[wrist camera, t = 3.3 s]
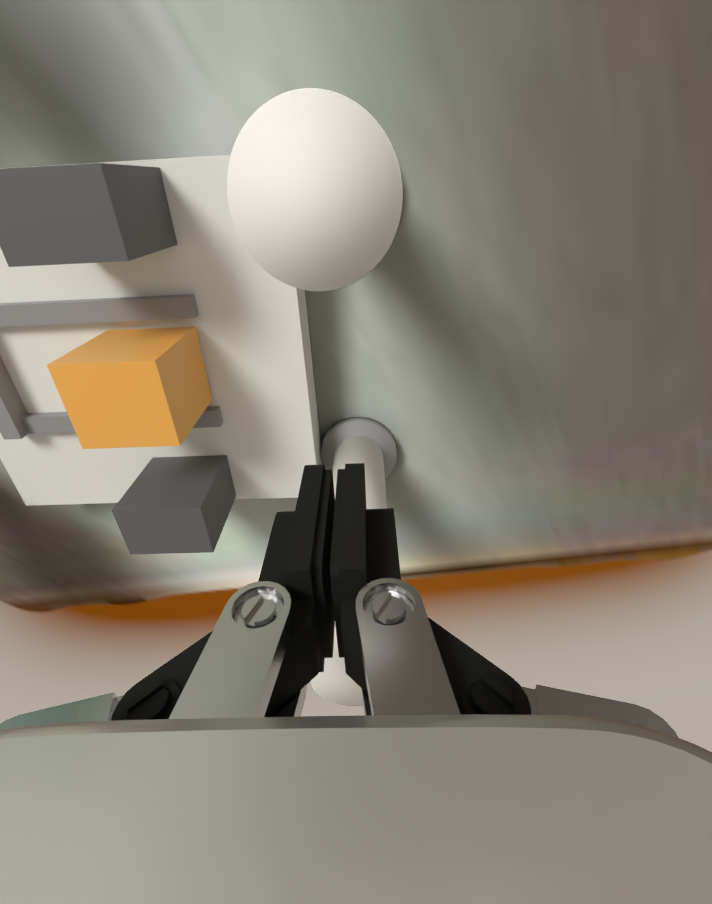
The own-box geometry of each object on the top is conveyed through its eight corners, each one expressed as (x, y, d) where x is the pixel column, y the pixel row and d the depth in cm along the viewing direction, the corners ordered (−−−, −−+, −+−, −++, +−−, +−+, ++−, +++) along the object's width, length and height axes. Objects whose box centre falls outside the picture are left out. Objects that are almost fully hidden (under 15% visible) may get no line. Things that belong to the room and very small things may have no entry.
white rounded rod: (396, 123, 20) (463, 1, 7) (396, 242, 23) (445, 330, 9) (288, 129, 21) (140, 23, 7) (300, 247, 23) (209, 340, 9)
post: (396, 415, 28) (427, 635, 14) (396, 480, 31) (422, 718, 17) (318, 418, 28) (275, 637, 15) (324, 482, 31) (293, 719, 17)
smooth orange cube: (195, 326, 22) (154, 360, 18) (212, 399, 24) (180, 445, 20) (107, 330, 22) (46, 364, 18) (131, 402, 24) (82, 449, 20)
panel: (291, 155, 21) (256, 142, 14) (323, 470, 30) (311, 553, 24) (-93, 177, 22) (-302, 175, 15) (54, 478, 31) (-34, 562, 24)
